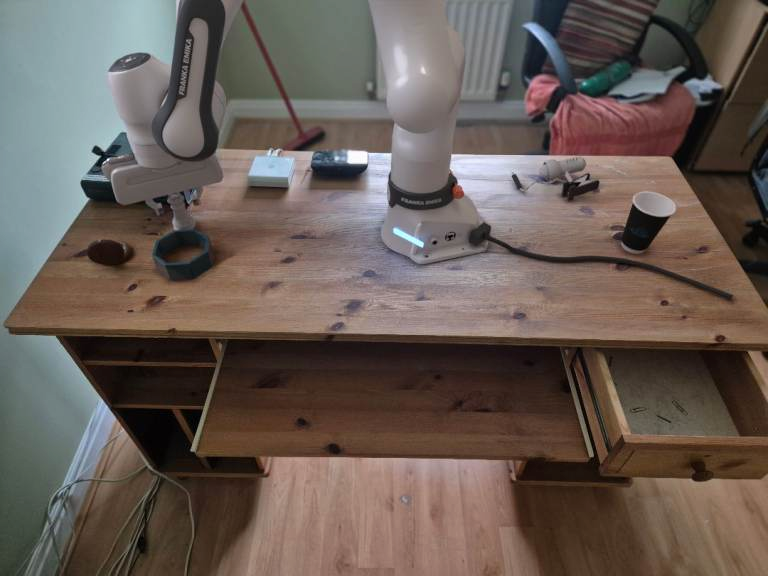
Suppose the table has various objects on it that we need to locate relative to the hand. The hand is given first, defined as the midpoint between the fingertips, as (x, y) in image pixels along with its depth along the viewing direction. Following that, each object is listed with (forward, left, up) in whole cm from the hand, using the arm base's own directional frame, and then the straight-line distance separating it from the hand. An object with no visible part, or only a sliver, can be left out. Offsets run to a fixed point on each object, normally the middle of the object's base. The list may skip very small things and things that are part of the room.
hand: (178, 208), depth 102 cm
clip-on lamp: (-83, -7, -5) cm, 83 cm away
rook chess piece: (0, 0, -5) cm, 5 cm away
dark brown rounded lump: (+13, +9, -5) cm, 17 cm away
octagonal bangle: (-2, +11, -5) cm, 12 cm away
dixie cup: (-93, +15, -5) cm, 94 cm away
